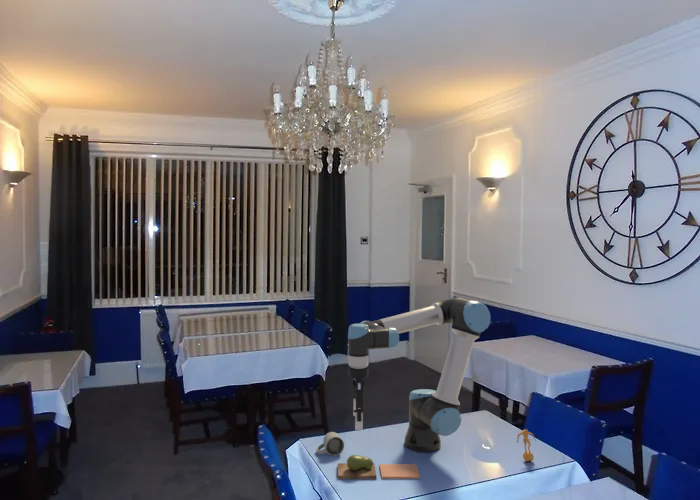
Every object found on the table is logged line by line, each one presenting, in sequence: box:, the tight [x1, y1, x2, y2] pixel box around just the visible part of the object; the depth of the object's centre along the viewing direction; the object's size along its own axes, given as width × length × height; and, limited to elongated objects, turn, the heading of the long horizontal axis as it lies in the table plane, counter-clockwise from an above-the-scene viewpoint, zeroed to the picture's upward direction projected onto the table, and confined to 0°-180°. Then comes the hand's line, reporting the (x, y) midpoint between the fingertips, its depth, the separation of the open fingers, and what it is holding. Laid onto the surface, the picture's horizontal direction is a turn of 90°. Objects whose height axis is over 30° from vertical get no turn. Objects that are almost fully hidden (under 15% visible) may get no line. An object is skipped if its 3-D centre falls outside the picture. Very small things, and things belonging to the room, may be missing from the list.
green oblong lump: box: [346, 454, 374, 471], centre depth 194 cm, size 6×5×10 cm
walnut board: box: [337, 462, 377, 480], centre depth 194 cm, size 14×10×1 cm
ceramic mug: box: [316, 431, 345, 457], centre depth 211 cm, size 11×8×8 cm
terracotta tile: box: [379, 463, 421, 480], centre depth 194 cm, size 14×10×1 cm
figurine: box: [516, 429, 537, 462], centre depth 206 cm, size 8×6×12 cm
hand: (357, 422), depth 194 cm, fingers open, 13 cm apart
